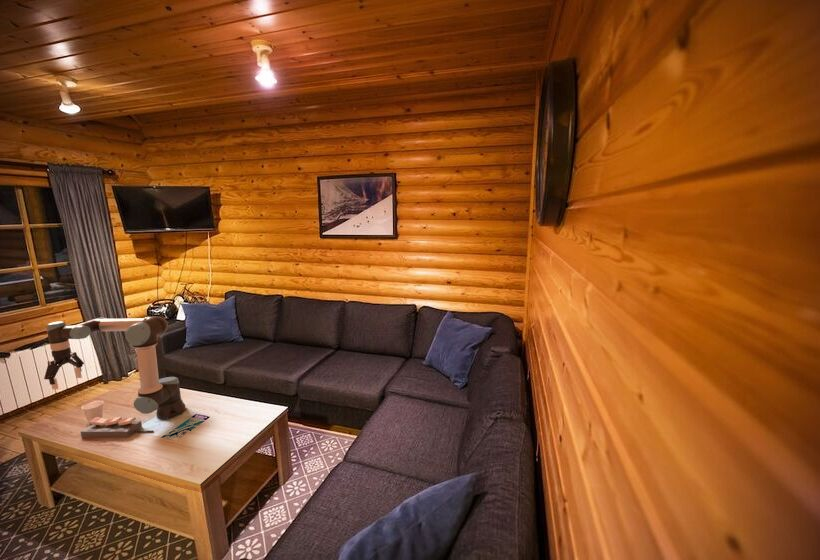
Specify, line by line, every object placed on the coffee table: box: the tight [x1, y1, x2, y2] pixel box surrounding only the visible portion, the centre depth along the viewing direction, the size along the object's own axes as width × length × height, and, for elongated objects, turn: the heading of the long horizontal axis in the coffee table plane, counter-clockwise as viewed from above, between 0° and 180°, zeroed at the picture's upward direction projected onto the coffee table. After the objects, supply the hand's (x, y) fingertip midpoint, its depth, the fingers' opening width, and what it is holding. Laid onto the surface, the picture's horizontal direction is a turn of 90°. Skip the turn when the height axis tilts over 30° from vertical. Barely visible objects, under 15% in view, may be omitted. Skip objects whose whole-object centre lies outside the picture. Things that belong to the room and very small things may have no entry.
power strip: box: [80, 420, 155, 439], centre depth 191 cm, size 36×10×5 cm, turn 90°
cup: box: [80, 399, 104, 424], centre depth 202 cm, size 10×10×11 cm
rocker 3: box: [118, 416, 137, 426], centre depth 192 cm, size 7×4×2 cm, turn 90°
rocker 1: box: [89, 417, 110, 426], centre depth 192 cm, size 7×4×2 cm, turn 90°
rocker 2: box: [104, 416, 123, 426], centre depth 192 cm, size 7×4×2 cm, turn 90°
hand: (67, 383), depth 193 cm, fingers open, 13 cm apart
